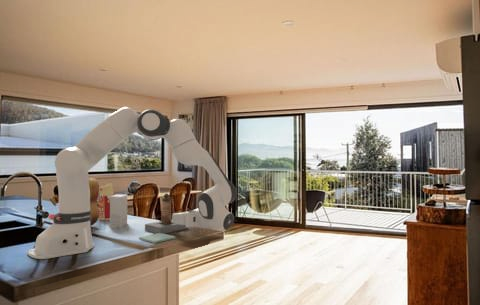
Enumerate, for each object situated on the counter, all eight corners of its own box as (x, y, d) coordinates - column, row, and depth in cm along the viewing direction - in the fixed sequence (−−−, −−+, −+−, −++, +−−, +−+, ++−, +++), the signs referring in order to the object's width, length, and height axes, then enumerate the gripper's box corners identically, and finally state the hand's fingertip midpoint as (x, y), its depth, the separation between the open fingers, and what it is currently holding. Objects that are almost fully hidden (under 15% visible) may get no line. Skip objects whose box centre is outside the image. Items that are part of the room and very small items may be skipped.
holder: (160, 234, 158) (160, 227, 158) (144, 230, 166) (144, 224, 166) (187, 228, 170) (187, 222, 170) (171, 225, 178) (171, 219, 178)
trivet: (154, 243, 142) (154, 241, 142) (138, 239, 149) (138, 237, 149) (175, 238, 150) (175, 236, 150) (160, 234, 157) (160, 232, 157)
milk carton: (112, 216, 203) (112, 182, 203) (118, 218, 196) (118, 183, 196) (96, 218, 197) (96, 183, 197) (101, 220, 190) (101, 184, 190)
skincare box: (115, 223, 181) (115, 194, 181) (128, 223, 181) (128, 194, 181) (109, 227, 173) (109, 196, 173) (122, 227, 173) (122, 196, 173)
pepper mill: (165, 231, 165) (165, 194, 165) (159, 229, 168) (159, 193, 168) (173, 229, 168) (173, 193, 168) (167, 228, 171) (167, 192, 171)
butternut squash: (97, 229, 167) (98, 178, 167) (67, 231, 163) (67, 178, 163) (100, 224, 180) (100, 176, 180) (71, 225, 176) (72, 176, 176)
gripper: (219, 207, 159) (198, 204, 168) (185, 213, 143) (164, 209, 152) (219, 221, 159) (198, 217, 168) (185, 228, 143) (164, 223, 152)
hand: (182, 213), depth 160 cm, fingers open, 8 cm apart
